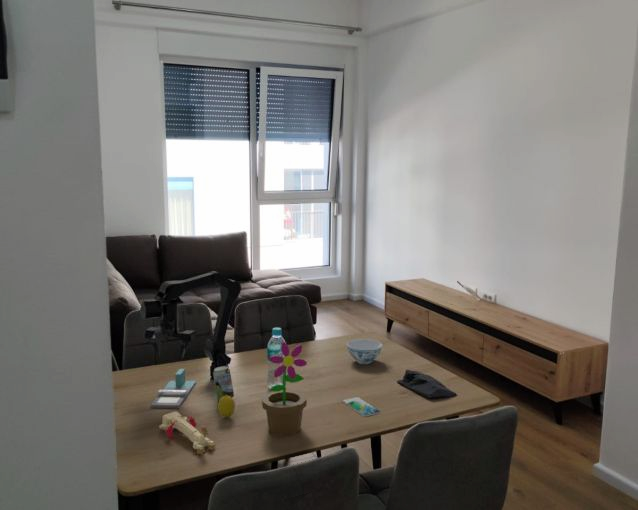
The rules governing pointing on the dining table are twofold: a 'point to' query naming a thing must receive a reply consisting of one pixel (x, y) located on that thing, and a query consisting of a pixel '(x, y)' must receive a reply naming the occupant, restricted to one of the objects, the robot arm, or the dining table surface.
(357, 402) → the smartphone
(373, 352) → the chinaware
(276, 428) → the flowerpot
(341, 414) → the dining table surface
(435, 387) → the dark grey cloth
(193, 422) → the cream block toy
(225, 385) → the beverage can
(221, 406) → the lemon
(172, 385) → the stub
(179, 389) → the plate
